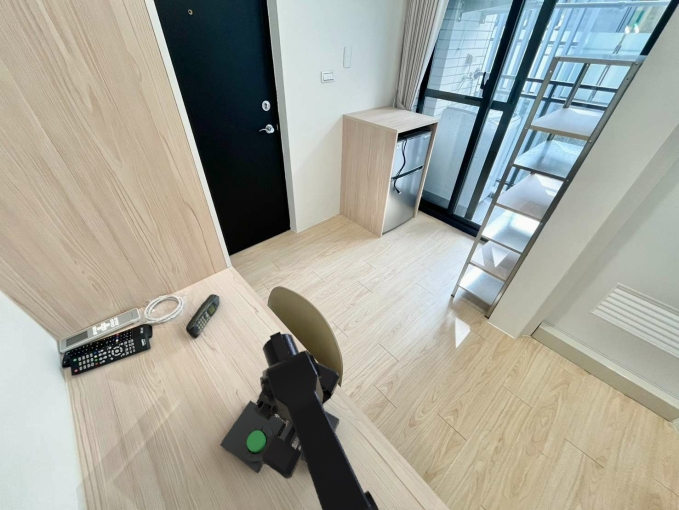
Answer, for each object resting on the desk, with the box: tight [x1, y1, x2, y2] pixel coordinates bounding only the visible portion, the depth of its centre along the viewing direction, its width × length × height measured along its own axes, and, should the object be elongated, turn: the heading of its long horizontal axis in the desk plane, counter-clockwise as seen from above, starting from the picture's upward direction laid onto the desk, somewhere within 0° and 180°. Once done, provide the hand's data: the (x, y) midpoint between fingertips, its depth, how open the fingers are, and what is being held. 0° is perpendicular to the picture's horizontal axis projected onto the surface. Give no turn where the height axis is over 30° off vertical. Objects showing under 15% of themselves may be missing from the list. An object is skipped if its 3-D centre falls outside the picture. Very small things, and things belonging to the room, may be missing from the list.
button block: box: [219, 400, 287, 474], centre depth 60 cm, size 10×11×4 cm
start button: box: [247, 431, 266, 453], centre depth 57 cm, size 4×4×2 cm
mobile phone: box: [185, 293, 220, 339], centre depth 82 cm, size 5×3×15 cm
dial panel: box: [279, 410, 340, 464], centre depth 60 cm, size 10×10×3 cm
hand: (307, 425), depth 56 cm, fingers open, 9 cm apart
